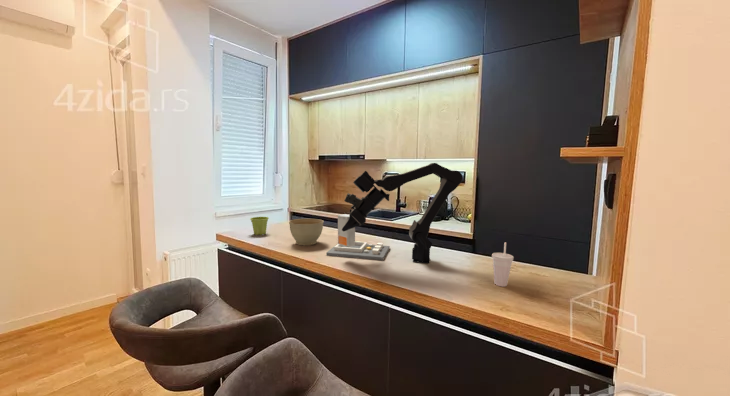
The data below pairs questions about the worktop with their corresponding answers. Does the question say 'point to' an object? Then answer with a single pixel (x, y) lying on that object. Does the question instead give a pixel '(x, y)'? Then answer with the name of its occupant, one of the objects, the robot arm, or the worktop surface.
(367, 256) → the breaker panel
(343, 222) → the skincare box
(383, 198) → the robot arm
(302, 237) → the planter bowl
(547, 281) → the worktop surface
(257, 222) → the plant pot
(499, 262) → the smoothie
